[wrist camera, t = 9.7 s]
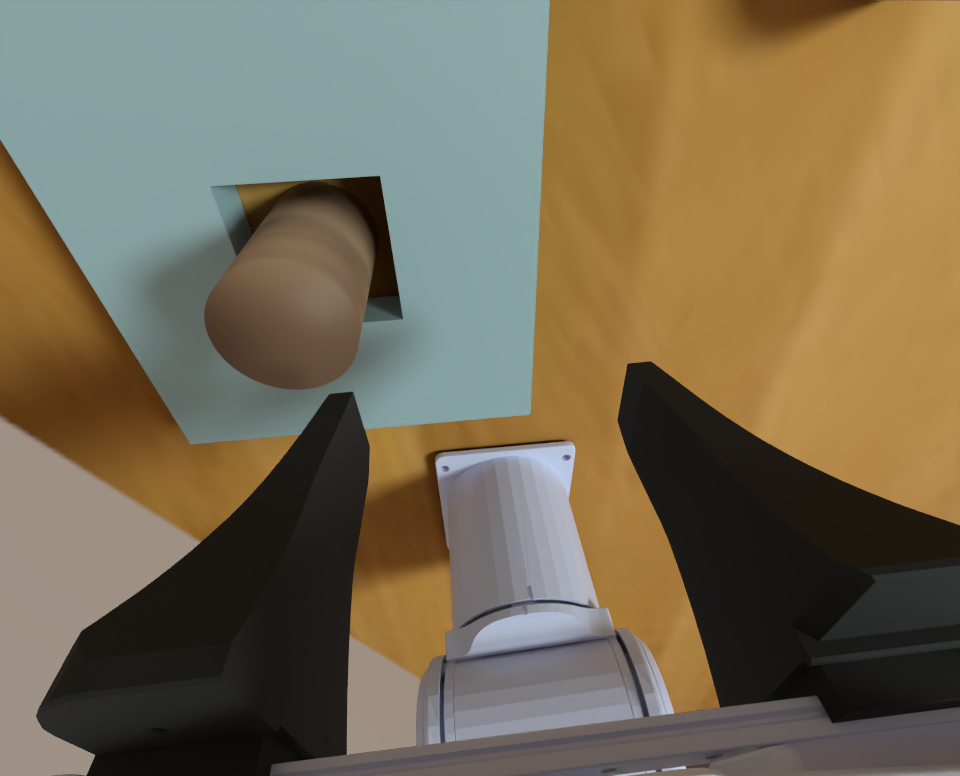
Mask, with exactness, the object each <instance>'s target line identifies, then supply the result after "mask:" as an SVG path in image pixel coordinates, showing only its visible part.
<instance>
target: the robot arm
mask: <svg viewBox="0 0 960 776" xmlns="http://www.w3.org/2000/svg"><path fill="white" fill-rule="evenodd" d="M618 424H619V427H620V430H621V434H622V437H623V440H624V443H625V446H626V449H627V452H628V454H629V457H630V459H631V461H632V463H633V465H634V467H635V469H636V472H637V474H638V476H639V478H640V480H641V482H642V484H643V486H644V488H645V490H646V492H647V494H648V496H649V499H650V501H651V503H652V505H653V507H654V509H655V511H656V513H657V515H658V517H659V519H660V521H661V523H662V526H663V528H664V530H665V533H666V535H667V537H668V540H669V543H670V545H671V548H672V551H673V554H674V557H675V559H676V562H677V565H678V568H679V571H680V573H681V576H682V579H683V582H684V586H685V589H686V592H687V595H688V598H689V601H690V604H691V607H692V610H693V613H694V616H695V620H696V623H697V626H698V630H699V633H700V636H701V639H702V643H703V646H704V649H705V653H706V656H707V660H708V664H709V667H710V671H711V675H712V678H713V682H714V686H715V689H716V693H717V697H718V701H719V705H720V708H714V709H706V710H698V711H690V712H682V713H674V712H673V708H672V705H671V702H670V699H669V696H668V693H667V690H666V687H665V684H664V681H663V679H662V676H661V674H660V671H659V669H658V667H657V664H656V662H655V660H654V658H653V656H652V654H651V652H650V650H649V649H648V647H647V646H646V645H645V643H644V642H643V641H641V640H640V639H639V638H637V637H636V636H635V635H634V634H633V633H632V632H631V631H630V630H629V629H628V628H619V629H614V627H613V623H612V620H611V617H610V614H609V610H608V608H607V607H602V608H599V605H598V601H597V598H596V594H595V591H594V587H593V584H592V580H591V577H590V573H589V570H588V566H587V563H586V559H585V556H584V552H583V549H582V545H581V542H580V538H579V535H578V531H577V528H576V524H575V521H574V518H573V514H572V511H571V507H570V504H569V493H570V485H571V478H572V471H573V464H574V457H575V447H574V444H573V443H572V442H570V441H564V442H553V443H542V444H531V445H520V446H509V447H498V448H487V449H476V450H465V451H454V452H443V453H439V454H438V455H437V456H436V457H435V466H436V473H437V480H438V487H439V494H440V500H441V507H442V514H443V521H444V528H445V535H446V542H447V547H448V549H449V554H450V577H451V599H452V622H453V630H451V631H447V632H446V633H445V640H446V655H441V656H436V657H434V658H433V659H432V661H431V662H430V664H429V667H428V668H427V670H426V671H425V673H424V674H423V676H422V678H421V681H420V685H419V691H418V699H417V714H416V715H417V716H416V746H412V747H405V748H397V749H389V750H381V751H373V752H365V753H357V754H349V755H347V749H346V747H347V687H348V654H349V634H350V615H351V599H352V584H353V572H354V564H355V557H356V551H357V545H358V539H359V534H360V528H361V522H362V516H363V510H364V504H365V498H366V492H367V486H368V477H369V452H370V446H369V443H368V439H367V436H366V433H365V429H364V426H363V423H362V419H361V416H360V413H359V409H358V406H357V403H356V399H355V396H354V393H353V392H343V393H333V394H329V395H328V396H327V397H326V399H325V400H324V402H323V403H322V404H321V406H320V407H319V409H318V410H317V412H316V413H315V415H314V416H313V417H312V419H311V420H310V422H309V423H308V424H307V426H306V427H305V429H304V430H303V431H302V433H301V434H300V436H299V437H298V438H297V440H296V441H295V442H294V444H293V445H292V446H291V448H290V449H289V450H288V452H287V453H286V454H285V455H284V457H283V458H282V459H281V460H280V462H279V463H278V464H277V465H276V466H275V468H274V469H273V470H272V471H271V472H270V474H269V475H268V476H267V477H266V478H265V480H264V481H263V482H262V483H261V484H260V485H259V486H258V488H257V489H256V490H255V491H254V492H253V493H252V494H251V495H250V496H249V497H248V498H247V500H246V501H245V502H244V503H243V504H242V505H241V506H240V507H239V508H238V509H237V510H236V511H235V512H234V513H233V514H232V515H231V516H230V517H229V518H228V519H227V520H225V521H224V522H223V523H222V524H221V525H220V526H219V527H218V528H217V529H215V530H214V531H213V532H212V533H211V534H210V535H209V536H208V537H206V538H205V539H204V540H203V541H202V542H201V543H200V544H199V545H197V546H196V547H195V548H194V549H193V550H192V551H191V552H189V553H188V554H187V555H186V556H184V557H183V558H182V559H181V560H180V561H178V562H177V563H176V564H175V565H174V566H172V567H171V568H170V569H168V570H167V571H166V572H164V573H163V574H162V575H160V576H159V577H158V578H157V579H155V580H154V581H153V582H151V583H150V584H149V585H147V586H146V587H145V588H144V589H142V590H141V591H139V592H138V593H137V594H135V595H134V596H132V597H131V598H129V599H128V600H126V601H125V602H123V603H122V604H121V605H119V606H118V607H116V608H115V609H113V610H112V611H110V612H109V613H108V614H106V615H105V616H103V617H102V618H100V619H99V620H97V621H96V622H95V623H93V624H92V625H90V626H88V627H87V628H86V629H84V630H83V631H82V632H81V633H80V635H79V636H78V638H77V640H76V642H75V643H74V645H73V647H72V649H71V650H70V652H69V654H68V656H67V657H66V659H65V661H64V663H63V665H62V667H61V669H60V670H59V672H58V674H57V676H56V678H55V679H54V681H53V683H52V685H51V687H50V689H49V690H48V692H47V694H46V696H45V698H44V700H43V701H42V703H41V705H40V707H39V709H38V712H37V715H36V717H37V719H38V721H39V723H40V725H41V726H42V728H43V729H44V730H46V731H47V732H49V733H51V734H52V735H54V736H56V737H58V738H60V739H62V740H65V741H67V742H69V743H71V744H73V745H75V746H77V747H80V748H82V749H84V750H86V751H88V752H90V753H93V754H95V758H94V760H93V762H92V764H91V767H90V769H89V772H88V774H87V776H960V525H957V524H954V523H951V522H948V521H945V520H942V519H940V518H937V517H934V516H931V515H928V514H925V513H922V512H919V511H916V510H914V509H911V508H908V507H905V506H902V505H900V504H897V503H894V502H892V501H889V500H887V499H884V498H882V497H879V496H877V495H874V494H872V493H869V492H867V491H864V490H862V489H860V488H857V487H855V486H853V485H850V484H848V483H846V482H843V481H841V480H839V479H837V478H835V477H833V476H830V475H828V474H826V473H824V472H822V471H820V470H818V469H816V468H814V467H811V466H809V465H807V464H805V463H803V462H801V461H800V460H798V459H796V458H794V457H792V456H790V455H788V454H786V453H785V452H783V451H781V450H779V449H777V448H776V447H774V446H772V445H770V444H768V443H767V442H765V441H763V440H761V439H760V438H758V437H756V436H755V435H753V434H752V433H750V432H748V431H747V430H745V429H744V428H742V427H741V426H739V425H738V424H736V423H734V422H733V421H731V420H730V419H728V418H727V417H725V416H724V415H723V414H721V413H720V412H718V411H717V410H715V409H714V408H712V407H711V406H710V405H708V404H707V403H706V402H704V401H703V400H701V399H700V398H699V397H697V396H696V395H695V394H693V393H692V392H691V391H689V390H688V389H687V388H685V387H684V386H683V385H681V384H680V383H679V382H677V381H676V380H675V379H674V378H672V377H671V376H670V375H668V374H667V373H666V372H664V371H663V370H662V369H660V368H659V367H658V366H656V365H655V364H653V363H652V362H651V361H650V362H640V363H630V364H628V365H627V370H626V376H625V381H624V387H623V393H622V398H621V404H620V409H619V415H618ZM564 455H565V456H564ZM442 466H446V467H442ZM706 763H711V764H710V766H709V769H708V768H693V769H686V767H685V766H690V765H698V764H706ZM54 776H83V775H73V774H67V775H54Z"/></svg>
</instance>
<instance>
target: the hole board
mask: <svg viewBox="0 0 960 776" xmlns="http://www.w3.org/2000/svg"><path fill="white" fill-rule="evenodd" d="M549 3H550V0H0V140H1V141H2V143H3V145H4V146H5V148H6V149H7V151H8V153H9V154H10V156H11V157H12V159H13V161H14V162H15V164H16V165H17V167H18V169H19V170H20V172H21V173H22V175H23V177H24V178H25V180H26V182H27V183H28V185H29V186H30V188H31V190H32V191H33V193H34V194H35V196H36V198H37V199H38V201H39V202H40V204H41V206H42V207H43V209H44V210H45V212H46V214H47V215H48V217H49V218H50V220H51V222H52V223H53V225H54V226H55V228H56V230H57V231H58V233H59V234H60V236H61V238H62V239H63V241H64V243H65V244H66V246H67V247H68V249H69V251H70V252H71V254H72V255H73V257H74V259H75V260H76V262H77V263H78V265H79V267H80V268H81V270H82V271H83V273H84V275H85V276H86V278H87V279H88V281H89V283H90V284H91V286H92V287H93V289H94V291H95V292H96V294H97V295H98V297H99V299H100V300H101V302H102V303H103V305H104V307H105V308H106V310H107V312H108V313H109V315H110V316H111V318H112V320H113V321H114V323H115V324H116V326H117V328H118V329H119V331H120V332H121V334H122V336H123V337H124V339H125V340H126V342H127V344H128V345H129V347H130V348H131V350H132V352H133V353H134V355H135V356H136V358H137V360H138V361H139V363H140V364H141V366H142V368H143V369H144V371H145V372H146V374H147V376H148V377H149V379H150V381H151V382H152V384H153V385H154V387H155V389H156V390H157V392H158V393H159V395H160V397H161V398H162V400H163V401H164V403H165V405H166V406H167V408H168V409H169V411H170V413H171V414H172V416H173V417H174V419H175V421H176V422H177V424H178V425H179V427H180V429H181V430H182V432H183V433H184V435H185V437H186V438H187V440H188V441H189V443H190V444H201V443H213V442H224V441H235V440H247V439H258V438H270V437H281V436H292V435H300V434H301V433H302V431H303V430H304V429H305V427H306V426H307V424H308V423H309V422H310V420H311V419H312V417H313V416H314V415H315V413H316V412H317V410H318V409H319V407H320V406H321V404H322V403H323V402H324V400H325V399H326V397H327V396H328V395H329V394H333V393H343V392H353V393H354V396H355V399H356V403H357V406H358V409H359V413H360V416H361V419H362V423H363V426H364V429H372V428H383V427H395V426H406V425H417V424H429V423H440V422H451V421H463V420H474V419H486V418H497V417H508V416H520V415H530V412H531V390H532V369H533V347H534V326H535V304H536V283H537V261H538V239H539V218H540V196H541V175H542V153H543V132H544V110H545V89H546V67H547V46H548V24H549ZM368 176H380V179H381V185H382V191H383V197H384V203H385V210H386V216H387V222H388V228H389V234H390V240H391V247H392V253H393V259H394V265H395V271H396V277H397V284H398V290H399V296H387V297H373V298H368V299H367V304H366V310H365V315H364V320H363V325H362V330H361V335H360V341H359V346H358V351H357V354H356V357H355V359H354V361H353V363H352V365H351V366H350V367H349V369H348V370H347V371H346V372H345V373H344V374H343V375H342V376H340V377H339V378H337V379H336V380H334V381H332V382H330V383H329V384H326V385H323V386H320V387H316V388H312V389H304V390H290V389H282V388H276V387H272V386H268V385H265V384H262V383H259V382H257V381H255V380H253V379H250V378H248V377H247V376H245V375H243V374H241V373H240V372H239V371H237V370H236V369H234V368H233V367H232V366H231V365H230V364H228V363H227V362H226V361H225V360H224V359H223V358H222V357H221V356H220V354H219V353H218V352H217V350H216V349H215V348H214V346H213V344H212V342H211V341H210V339H209V336H208V334H207V331H206V327H205V321H204V311H205V305H206V301H207V298H208V296H209V294H210V292H211V291H212V289H213V288H214V287H215V285H216V284H217V283H218V281H219V280H220V279H221V277H222V276H223V274H224V273H225V272H226V270H227V269H228V268H229V266H230V265H231V264H232V262H233V261H234V260H235V258H236V257H237V255H238V254H239V253H240V251H241V250H242V249H243V247H244V246H245V245H246V243H247V242H248V241H249V239H250V238H251V236H252V235H253V234H252V231H251V228H250V225H249V223H248V220H247V217H246V214H245V211H244V208H243V206H242V203H241V200H240V197H239V194H238V191H237V189H236V186H235V185H241V184H257V183H273V182H288V181H304V180H320V179H336V178H352V177H368Z"/></svg>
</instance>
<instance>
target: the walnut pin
mask: <svg viewBox="0 0 960 776" xmlns="http://www.w3.org/2000/svg"><path fill="white" fill-rule="evenodd" d="M377 247H378V234H377V229H376V225H375V223H374V220H373V218H372V216H371V214H370V212H369V211H368V210H367V208H366V207H365V206H364V205H363V203H362V202H361V201H360V200H359V199H358V198H356V197H355V196H354V195H353V194H351V193H350V192H348V191H346V190H345V189H343V188H341V187H338V186H336V185H333V184H329V183H323V182H308V183H303V184H299V185H297V186H295V187H292V188H291V189H289V190H288V191H286V192H285V193H284V194H283V195H282V196H281V197H280V199H279V200H278V201H277V202H276V204H275V205H274V207H273V208H272V209H271V211H270V212H269V213H268V215H267V216H266V217H265V219H264V220H263V222H262V223H261V224H260V226H259V227H258V228H257V230H256V231H255V232H254V234H253V235H252V236H251V238H250V239H249V241H248V242H247V243H246V245H245V246H244V247H243V249H242V250H241V251H240V253H239V254H238V255H237V257H236V258H235V260H234V261H233V262H232V264H231V265H230V266H229V268H228V269H227V270H226V272H225V273H224V274H223V276H222V277H221V279H220V280H219V281H218V283H217V284H216V285H215V287H214V288H213V289H212V291H211V292H210V294H209V296H208V298H207V301H206V305H205V311H204V321H205V327H206V331H207V334H208V336H209V339H210V341H211V342H212V344H213V346H214V348H215V349H216V350H217V352H218V353H219V354H220V356H221V357H222V358H223V359H224V360H225V361H226V362H227V363H228V364H230V365H231V366H232V367H233V368H234V369H236V370H237V371H239V372H240V373H241V374H243V375H245V376H247V377H248V378H250V379H253V380H255V381H257V382H259V383H262V384H265V385H268V386H272V387H276V388H282V389H290V390H304V389H312V388H316V387H320V386H323V385H326V384H329V383H330V382H332V381H334V380H336V379H337V378H339V377H340V376H342V375H343V374H344V373H345V372H346V371H347V370H348V369H349V367H350V366H351V365H352V363H353V361H354V359H355V357H356V354H357V351H358V346H359V341H360V335H361V330H362V325H363V320H364V315H365V310H366V304H367V299H368V294H369V289H370V284H371V279H372V273H373V268H374V263H375V258H376V253H377Z"/></svg>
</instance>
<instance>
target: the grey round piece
mask: <svg viewBox="0 0 960 776" xmlns="http://www.w3.org/2000/svg"><path fill="white" fill-rule="evenodd" d="M870 1H960V0H870Z"/></svg>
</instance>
